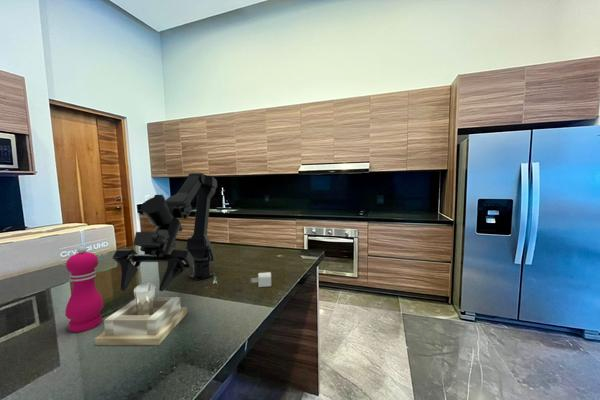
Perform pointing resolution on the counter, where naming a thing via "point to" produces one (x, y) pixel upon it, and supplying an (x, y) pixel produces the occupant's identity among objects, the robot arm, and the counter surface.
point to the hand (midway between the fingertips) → (141, 290)
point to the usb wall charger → (263, 279)
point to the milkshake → (145, 298)
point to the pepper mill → (83, 292)
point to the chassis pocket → (142, 323)
